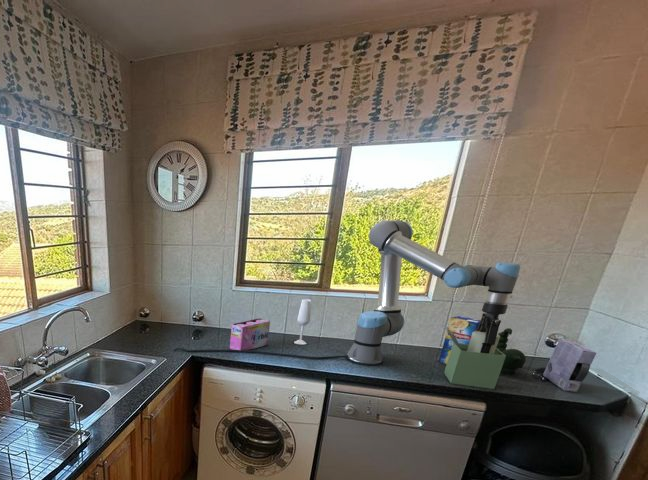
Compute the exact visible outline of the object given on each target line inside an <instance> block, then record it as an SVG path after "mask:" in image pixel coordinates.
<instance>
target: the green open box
mask: <svg viewBox="0 0 648 480" xmlns="http://www.w3.org/2000/svg"><path fill="white" fill-rule="evenodd" d="M459 345H460V347H461V349H460V348H459V347H458V346H457V345H456V344H455V343H453V345H452V348H451V352H450V355H449V358H448V362H447V364H445V365H446V366H445V368H444V372H443V374H444V375H445V376H446V379H447V380H448V382H449V383H450V384H453V385H460V386H468V387H474V388H475V387H476V388H483V389H492V390H495V388H496V386H497V382H498V380H499V377H500V374H501V372H502V370H503V368H502V366H503V363H504V360H505V357H506V355H504V354H503V353H502V352H501V351H499V350H498V349H497V348H496V349H495V352H494V354H487V353H478V352H469V351H467V349H468V346H469V344H461V343H459Z"/></svg>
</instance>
